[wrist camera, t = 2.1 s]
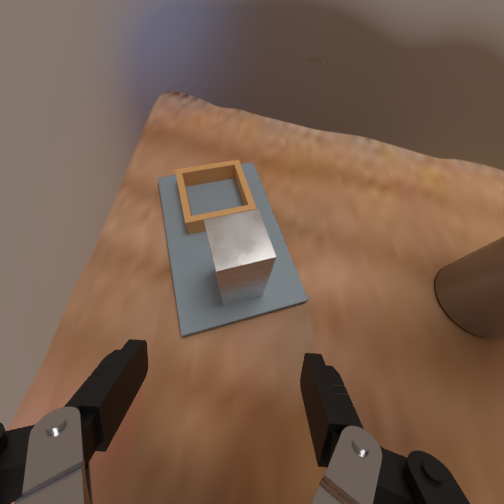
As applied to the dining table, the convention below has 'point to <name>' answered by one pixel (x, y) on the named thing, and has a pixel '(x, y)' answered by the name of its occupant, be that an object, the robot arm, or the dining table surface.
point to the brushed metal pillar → (240, 255)
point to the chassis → (198, 250)
